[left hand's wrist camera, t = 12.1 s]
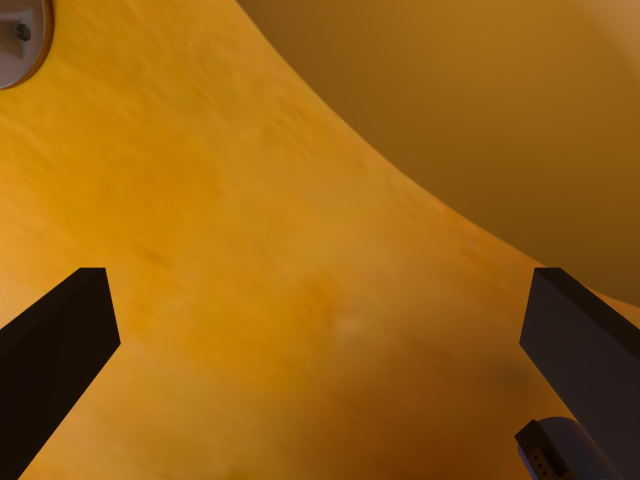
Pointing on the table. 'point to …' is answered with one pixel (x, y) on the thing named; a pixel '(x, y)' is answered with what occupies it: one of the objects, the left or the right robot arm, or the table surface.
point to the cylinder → (574, 450)
